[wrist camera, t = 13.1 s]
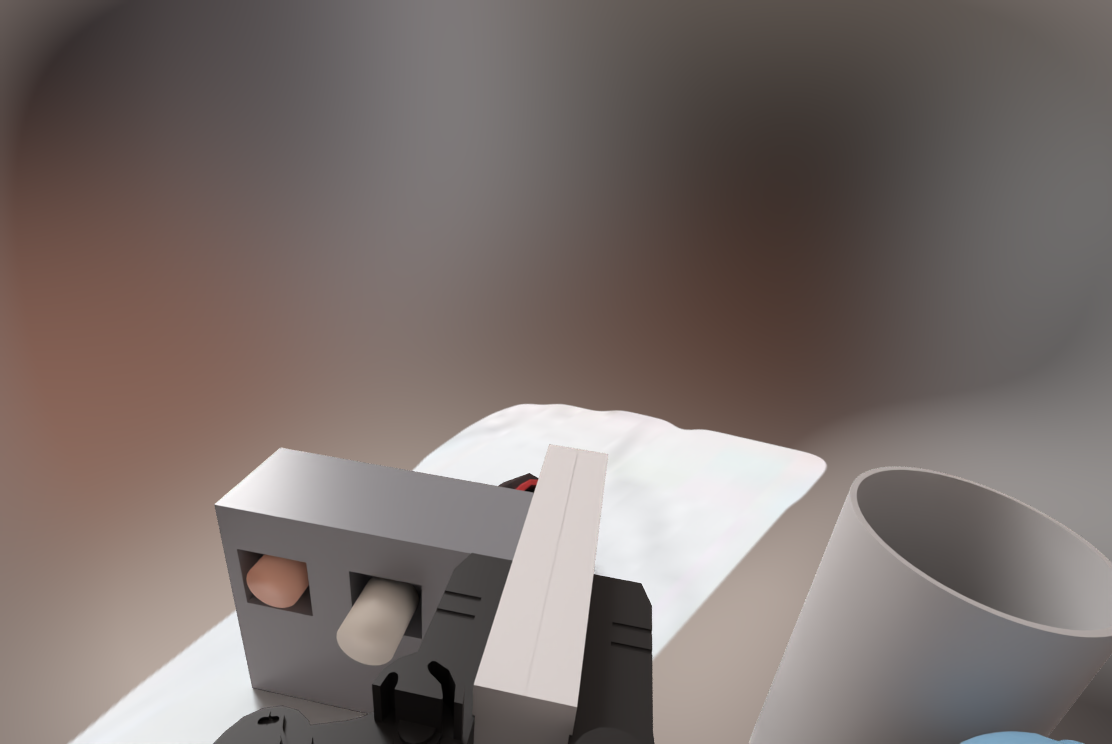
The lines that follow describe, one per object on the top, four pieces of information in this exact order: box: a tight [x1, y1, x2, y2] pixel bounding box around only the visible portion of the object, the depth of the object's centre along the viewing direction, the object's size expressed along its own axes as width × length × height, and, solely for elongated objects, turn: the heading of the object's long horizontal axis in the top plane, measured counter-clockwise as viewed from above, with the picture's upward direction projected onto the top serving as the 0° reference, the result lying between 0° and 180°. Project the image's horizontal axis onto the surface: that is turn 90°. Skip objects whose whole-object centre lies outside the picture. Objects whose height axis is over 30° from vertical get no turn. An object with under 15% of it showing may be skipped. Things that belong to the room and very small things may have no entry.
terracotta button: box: [246, 554, 309, 608], centre depth 39 cm, size 4×4×4 cm
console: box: [215, 448, 534, 714], centre depth 41 cm, size 23×7×18 cm, turn 82°
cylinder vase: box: [749, 467, 1112, 744], centre depth 34 cm, size 12×12×25 cm
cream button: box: [337, 576, 419, 665], centre depth 35 cm, size 4×4×4 cm
